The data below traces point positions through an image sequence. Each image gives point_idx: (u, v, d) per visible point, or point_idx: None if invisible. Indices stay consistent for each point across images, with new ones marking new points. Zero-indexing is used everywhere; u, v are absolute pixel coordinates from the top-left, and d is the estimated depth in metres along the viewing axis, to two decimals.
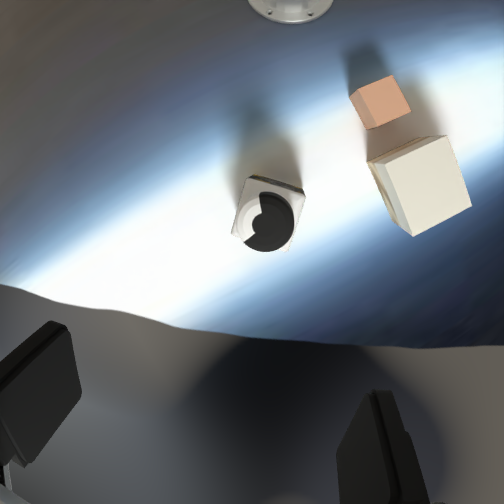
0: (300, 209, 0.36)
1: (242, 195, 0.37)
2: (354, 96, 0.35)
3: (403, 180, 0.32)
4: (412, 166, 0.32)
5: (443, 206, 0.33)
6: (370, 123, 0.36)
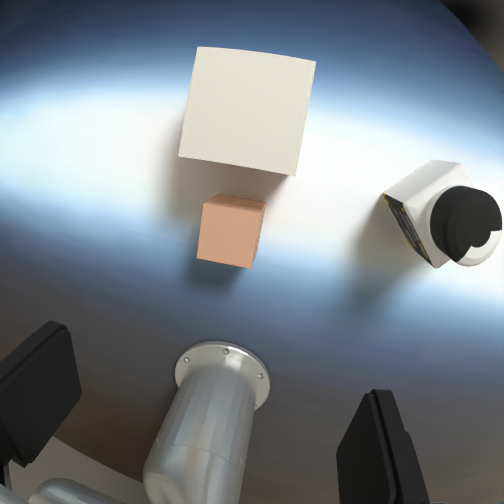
0: (419, 195, 0.24)
1: None
2: (255, 253, 0.32)
3: (283, 138, 0.22)
4: (257, 148, 0.23)
5: (245, 69, 0.21)
6: (261, 215, 0.30)
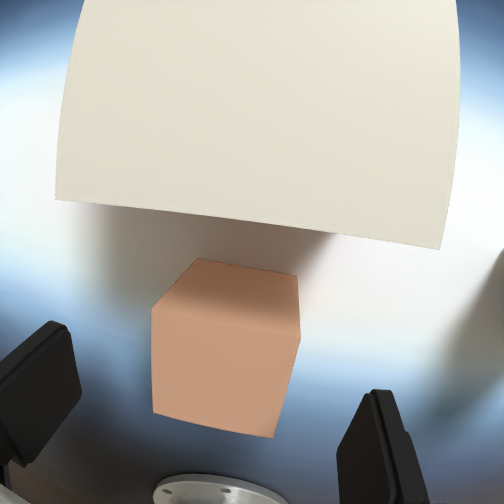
0: None
1: None
2: None
3: (405, 118, 0.06)
4: (314, 154, 0.06)
5: None
6: None
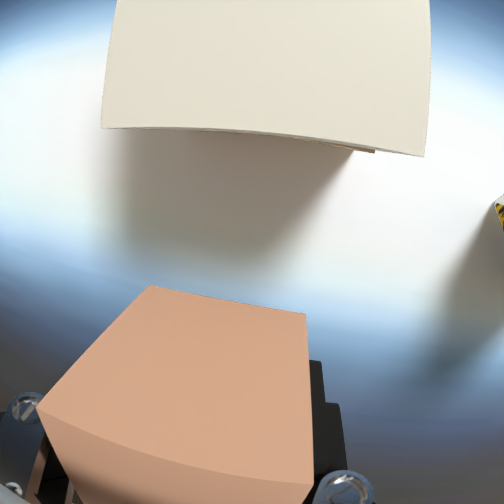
0: None
1: None
2: None
3: (386, 55, 0.07)
4: (316, 80, 0.07)
5: None
6: None
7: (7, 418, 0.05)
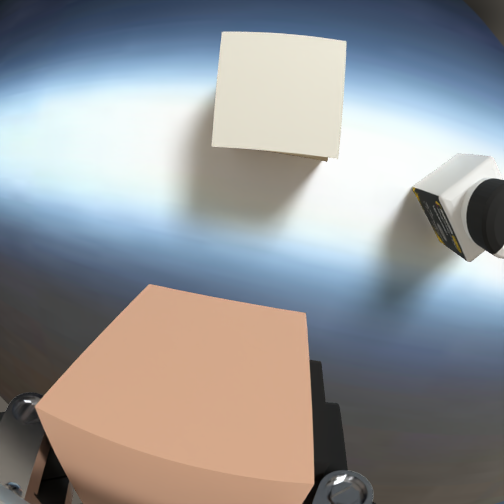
0: (454, 188, 0.22)
1: (485, 249, 0.23)
2: None
3: (323, 120, 0.21)
4: (296, 132, 0.21)
5: (275, 52, 0.20)
6: None
7: (7, 418, 0.05)
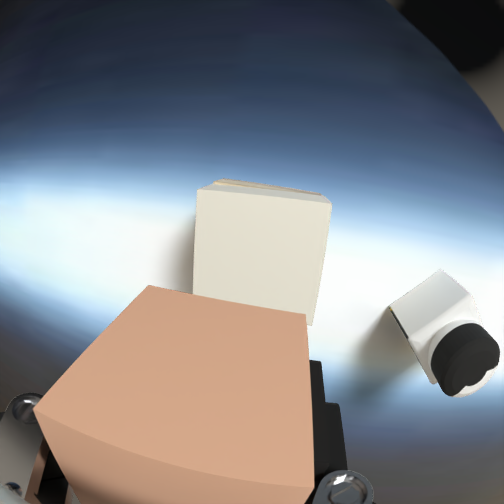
0: (424, 330, 0.24)
1: None
2: None
3: (299, 292, 0.23)
4: (273, 302, 0.23)
5: (253, 218, 0.21)
6: None
7: (7, 418, 0.05)
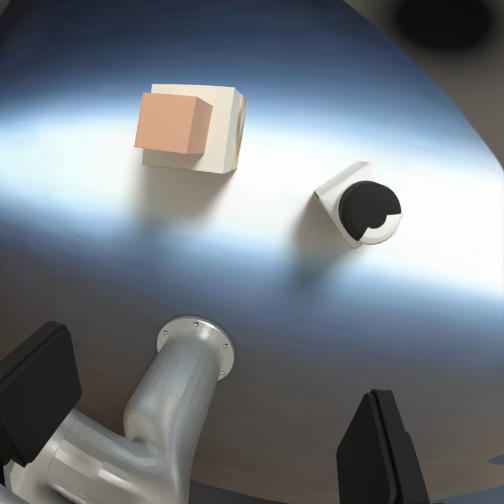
0: (331, 190, 0.33)
1: None
2: (197, 149, 0.29)
3: (213, 147, 0.31)
4: (195, 155, 0.32)
5: None
6: (202, 107, 0.27)
7: None
